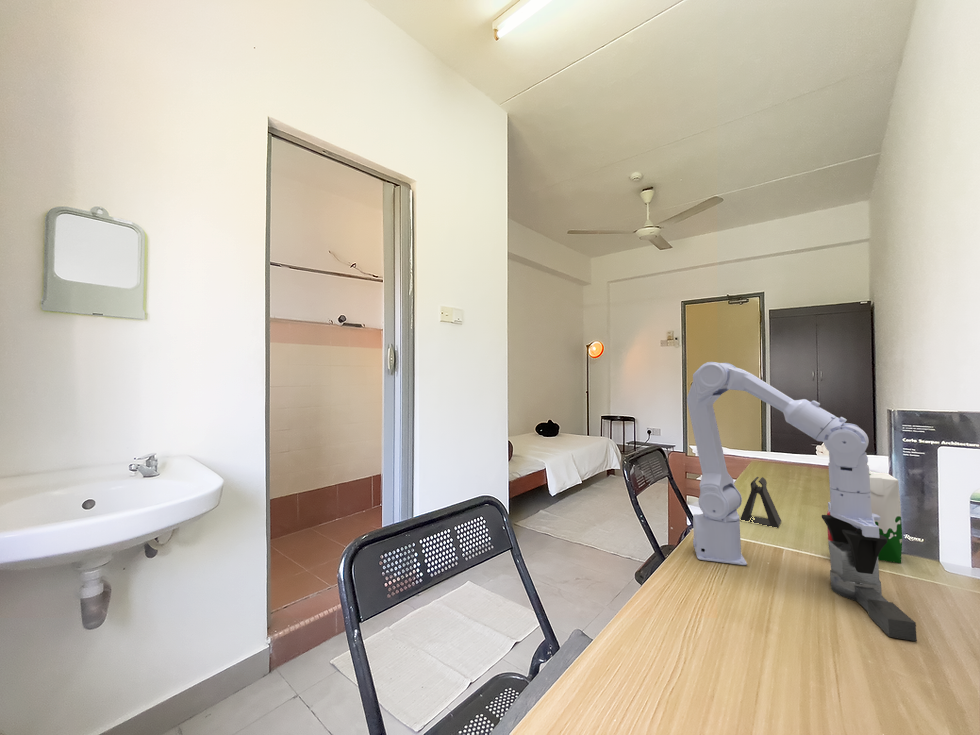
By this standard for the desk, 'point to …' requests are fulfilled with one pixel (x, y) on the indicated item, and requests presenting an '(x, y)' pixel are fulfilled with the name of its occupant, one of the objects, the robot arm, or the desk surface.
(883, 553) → the milk carton
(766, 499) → the phone stand
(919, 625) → the desk surface
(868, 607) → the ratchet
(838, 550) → the grey block
